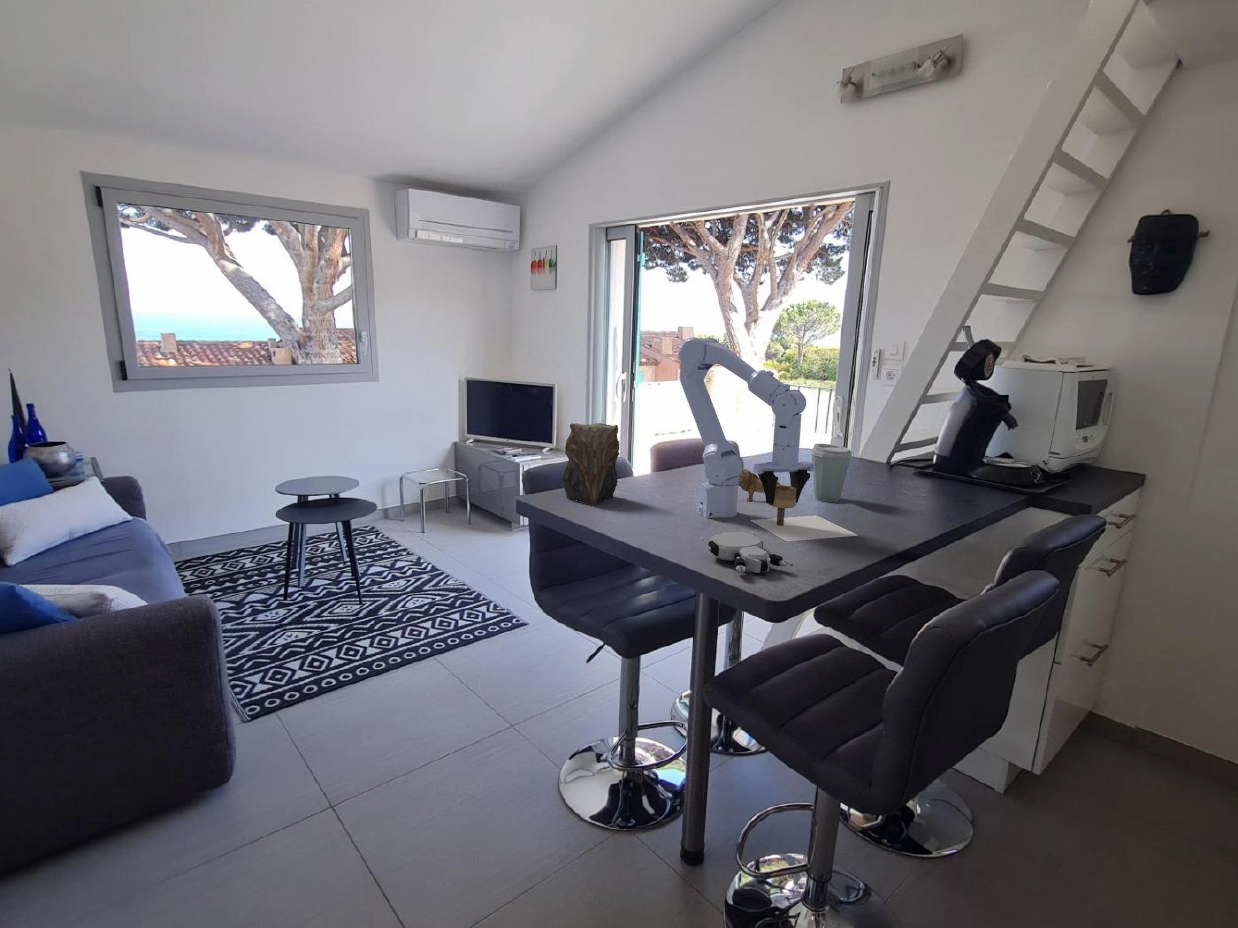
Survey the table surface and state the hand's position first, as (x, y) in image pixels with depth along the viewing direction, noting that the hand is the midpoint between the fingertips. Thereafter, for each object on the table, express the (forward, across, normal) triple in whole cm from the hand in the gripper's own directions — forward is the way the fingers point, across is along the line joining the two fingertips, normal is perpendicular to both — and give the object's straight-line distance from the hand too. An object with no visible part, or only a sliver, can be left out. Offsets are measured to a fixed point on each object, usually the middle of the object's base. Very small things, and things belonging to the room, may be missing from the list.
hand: (781, 502), depth 145 cm
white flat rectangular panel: (+6, +4, -3) cm, 8 cm away
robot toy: (+7, -19, -18) cm, 27 cm away
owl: (+6, -36, +36) cm, 51 cm away
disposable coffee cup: (+7, +28, +22) cm, 36 cm away
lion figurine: (+7, +7, +23) cm, 25 cm away
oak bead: (0, 0, 0) cm, 0 cm away
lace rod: (+5, 0, 0) cm, 5 cm away
